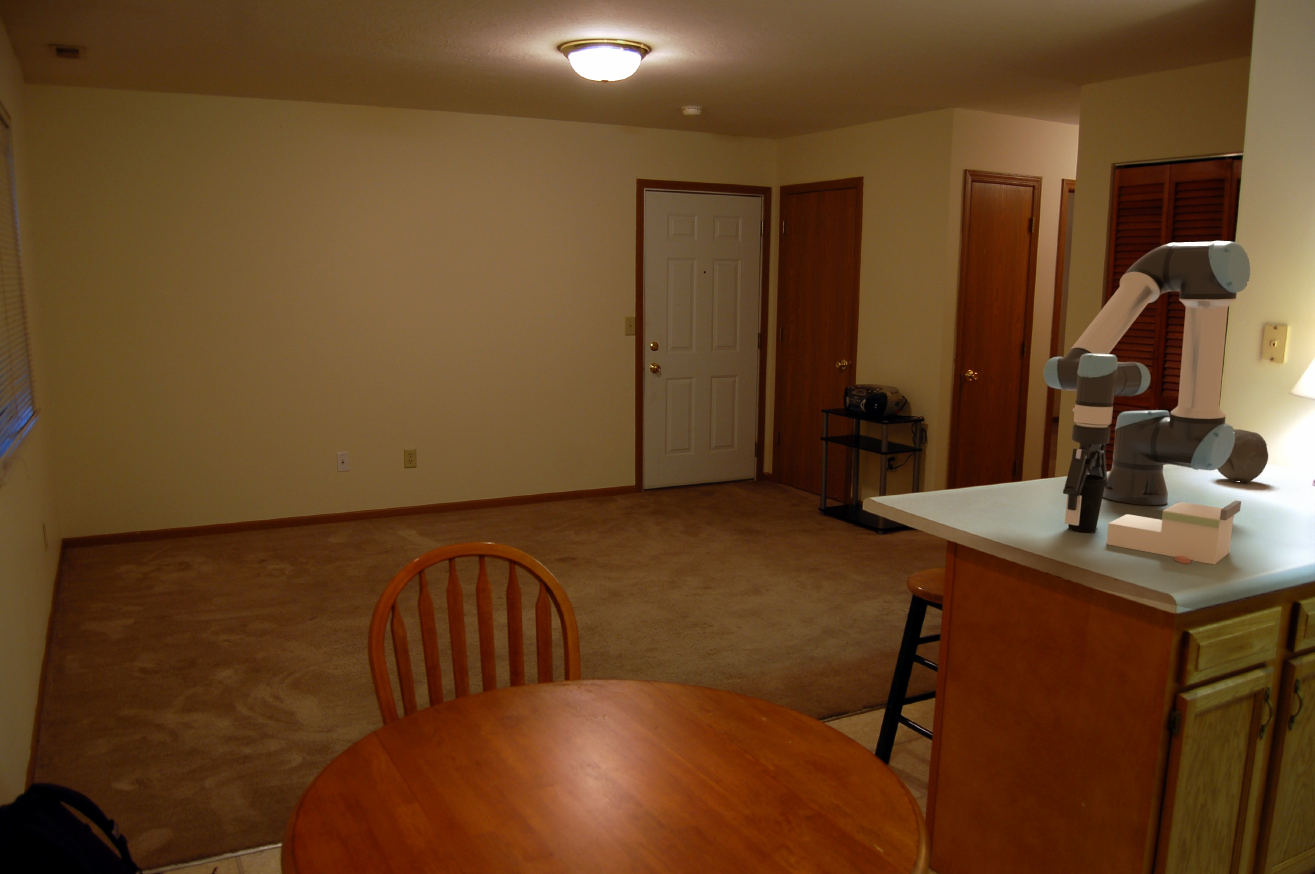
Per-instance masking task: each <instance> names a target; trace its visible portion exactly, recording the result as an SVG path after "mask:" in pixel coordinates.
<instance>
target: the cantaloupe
mask: <svg viewBox="0 0 1315 874" xmlns="http://www.w3.org/2000/svg"><path fill="white" fill-rule="evenodd" d="M1233 429H1234V428H1233ZM1234 432H1235V442H1234V446H1233V449H1232V452H1231V454H1230V456H1229V458H1228V459H1227V460H1226V462H1225V463H1224V464H1223V465H1222V466H1221V467H1219V468H1218V469H1216V470H1217V471H1218V472H1219V474H1221V475H1222V476H1223V477H1224V478H1226V479H1227V480H1229V481H1232V482H1234V481H1240V482H1244V483H1247V482H1251V481H1254V480H1255V479H1256V478H1258V477H1259V476H1260V475H1261V474H1262V473H1263V471H1264V470H1265V468H1266V466H1267V464H1268V461H1269V452H1268V447H1267V446H1268V444H1267V442H1266V440H1265V439H1264V437H1263V436H1262V435H1261V434H1260V433H1258V432H1255V431H1254V432H1253V431H1250V430H1245V429H1238V428H1236V429H1234Z"/></svg>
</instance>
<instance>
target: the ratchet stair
mask: <svg viewBox="0 0 1315 874" xmlns="http://www.w3.org/2000/svg"><path fill="white" fill-rule="evenodd" d="M1241 507H1242V500H1236V499H1235V500H1234V501H1232V502H1231V503H1229V504H1227V505H1226V506H1224V507H1217V506H1210V505H1203V504H1197V503H1190V502H1184V501H1179V502H1177V503H1175V504H1173V505H1171V506H1169V507H1167V508H1166V509H1163V510H1162V512H1161V513H1162V516H1161V519H1160V518H1159V519H1158V518H1153V517H1146V516H1140V515H1134V514H1128V513H1127V514H1124V515H1122V516H1120V517H1118V518H1116V519H1114V520H1113V521H1110V522H1108V524H1107V525H1108V526H1107V534H1106V545H1110V546H1114V547H1119V548H1126V549H1130V550H1136V551H1139V552H1140V551H1141V552H1146V553H1152V554H1157V555H1164V556H1168V557H1173V558H1174V560H1175V561H1177V562H1179V563H1181V564H1191V561H1193V562H1194V561H1195V562H1199V563H1205V564H1211V565H1216V564H1217V563H1218V562H1220V561H1221V560H1222V559H1223V558H1225V557H1226V556H1227V555H1229V553H1230V549H1231V540H1232V535H1233V534H1232V532H1233V525H1234V518H1235V515H1236V514H1238V513H1239V512H1240V511H1241Z"/></svg>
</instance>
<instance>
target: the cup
mask: <svg viewBox="0 0 1315 874" xmlns="http://www.w3.org/2000/svg"><path fill="white" fill-rule="evenodd" d="M1105 483H1106V478H1105V477H1102V476H1098V475H1092V474H1089V473H1087V476H1086V479H1085V481H1084V484H1083V487H1082V490H1081V493H1080V495H1081V496H1082V498H1081V508H1080V518H1079V525H1078V526H1077V525H1071V524H1067V526H1068V530H1070V531H1073V532H1078V533H1083V534H1092V533H1096V531H1097V526H1098V522H1099V521H1098V520H1099V517H1100V516H1099V512H1100V507H1101V508H1102V503H1103V498H1104V497H1103V493H1104V488H1105ZM1100 513H1101V512H1100Z"/></svg>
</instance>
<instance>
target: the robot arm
mask: <svg viewBox="0 0 1315 874" xmlns="http://www.w3.org/2000/svg"><path fill="white" fill-rule="evenodd" d="M1250 264H1251V263H1250V259H1249V255H1248V253H1247V252H1246V251H1245V248H1244V247H1243V246H1242V245H1241V244H1240V243H1238V242H1235V241H1226V240H1225V241H1224V240H1214V241H1212V240H1211V241H1195V242H1194V241H1193V242H1191V241H1189V242H1170V243H1167V244H1163V245H1161V246H1159V247H1155V248H1154V249H1152V250H1150V251H1149V252H1148V253H1146V254H1144V255H1143V256H1142V257H1140V258H1139V259H1137V261H1135V262H1134V263H1133V264H1132V265H1131V266H1130V267H1129V268H1128V269H1127V270H1126V271H1125V272H1124V273H1123V275H1122V276H1121V277H1120V280H1119V287H1118V289H1117V290H1116V291H1115V292H1114V294H1113V295H1112V296H1111V297H1110V298H1109V300H1108V301H1107V302H1106V304H1105V305H1104V306H1103V307H1102V308H1101V310H1100V311H1099V312H1098V313H1097V315H1096V316H1095V318H1093V320H1092V321H1091V322H1090V324H1089V325H1088V326H1087V328H1086V329H1085V330H1084V331H1083V333H1082V334H1081V335H1080V336H1079V337H1078V339H1077V341H1076V342H1075V343H1074V344H1073V345H1072V347H1071V348H1070V350H1069V351H1068V352H1067V353H1066V354H1065V355H1064V356H1053V357H1052V358H1050V359H1049V360H1048V361H1047V362H1046V363H1045V365H1044V368H1043V379H1044V381H1045V384H1046V385H1047V386H1048V387H1050V388H1053V389H1057V390H1062V391H1075V394H1076V395H1075V402H1074V403H1075V405H1074V407H1073V408H1072V412H1073V413H1074V414H1073V422H1074V423H1075V424H1074V425H1072V433H1071V440H1072V441H1073V442H1075V443H1078V444H1079V447H1078V448H1073V449H1072V455H1071V456H1072V457H1071V462H1070V464H1069V469H1068V471H1067V476H1066V480H1065V484H1064V488H1063V490H1062V494H1064V495H1067V496H1066V505H1065V506H1066V507H1065V518H1064V524H1066V525H1068V524H1071V525H1077V526H1078V525H1079V518H1080V508H1081V498H1082V496H1081V495H1080V493H1081V490H1082V487H1083V484H1084V481H1085V479H1086V476H1087V474H1092V475H1098V476H1102V477H1105V478H1106V483H1105V488H1104V493H1103V497H1102V498H1105V499H1106V500H1109V501H1110V500H1111V501H1113V502H1114V501H1115V502H1119V503H1123V504H1125V503H1126V504H1131V505H1142V506H1159V505H1166V504H1167V503H1168V499H1169V491H1168V489H1167V485H1166V479H1165V477H1164V465H1172V466H1177V467H1183V468H1189V469H1193V470H1196V471H1198V470H1201V471H1202V470H1203V471H1215V470H1217V469H1218V468H1219V467H1221V466H1222V465H1223V464H1224V463H1225V462H1226V460H1227V459H1228V458H1229V456H1230V454H1231V452H1232V449H1233V446H1234V442H1235V432H1234V426H1232V425H1231V424H1229V423H1226V416H1227V415H1226V414H1225V412H1224V411H1222V410H1221V408H1220V400H1221V399H1220V398H1221V388H1222V377H1223V376H1222V375H1223V366H1224V365H1223V364H1224V354H1225V341H1226V332H1227V331H1226V330H1227V319H1228V309H1229V306H1231V304H1233V303H1234V302H1235V301H1237V293H1240V292H1242V291H1244V290H1245V289H1246V287H1247V286H1248V282H1249V281H1250V279H1251V278H1250V276H1251V265H1250ZM1168 292H1169V293H1170V292H1176V293H1177V292H1179V298H1178V300H1179V301H1180V302H1181V303H1182V304H1183V305H1184V307H1185V316H1184V323H1183V324H1184V327H1183V336H1182V337H1183V338H1182V339H1183V340H1182V352H1181V362H1180V363H1181V365H1180V375H1179V376H1180V377H1179V387H1178V388H1179V389H1178V390H1179V392H1178V401H1177V406H1176V407H1174V408H1173V409H1172V410H1171V411H1170V412H1169V411H1168V410H1165V409H1163V410H1162V409H1160V410H1159V409H1155V410H1153V409H1151V410H1130V411H1129V410H1128V411H1122V412H1120V413H1119V414H1118V416H1117V419H1116V424H1115V428H1114V430H1115V431H1114V444H1113V454H1112V463H1111V464H1112V465H1111V469H1110V471H1109V473H1107V472H1108V471H1107V458H1106V450H1107V449H1106V448H1107V447H1106V445H1107V444H1109V443H1110V438H1111V427H1110V425H1111V424H1112V423H1113V422H1112V421H1113V411H1114V410H1113V409H1114V398H1115V397H1126V396H1127V397H1133V396H1137V395H1140V394H1142V393H1145V391H1146V390H1147V389H1148V388H1149V386H1150V384H1151V373H1150V370H1149V369H1148V367H1147V366H1146V365H1145V364H1142V362H1136V361H1126V362H1124V361H1118V357H1117V356H1116V355H1115V354H1110V353H1111V352H1112V350H1113V349H1114V348H1115V346H1116V345H1117V344H1118V342H1119V341H1120V340H1121V339H1122V337H1123V336H1124V335H1125V334H1126V333H1127V331H1128V330H1129V328H1130V327H1131V326H1132V324H1133V323H1134V322H1135V321H1136V319H1137V318H1138V317H1139V315H1140V314H1141V313H1142V312H1143V310H1145V308H1146V306H1147V305H1148V304H1149V303H1154V302H1155V301H1156V300H1158V298H1159V297H1160V296H1161V295H1162V294H1164V293H1168ZM1107 474H1108V475H1107ZM1101 511H1102V506H1101V507H1100V512H1099V517H1100V516H1101Z"/></svg>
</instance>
